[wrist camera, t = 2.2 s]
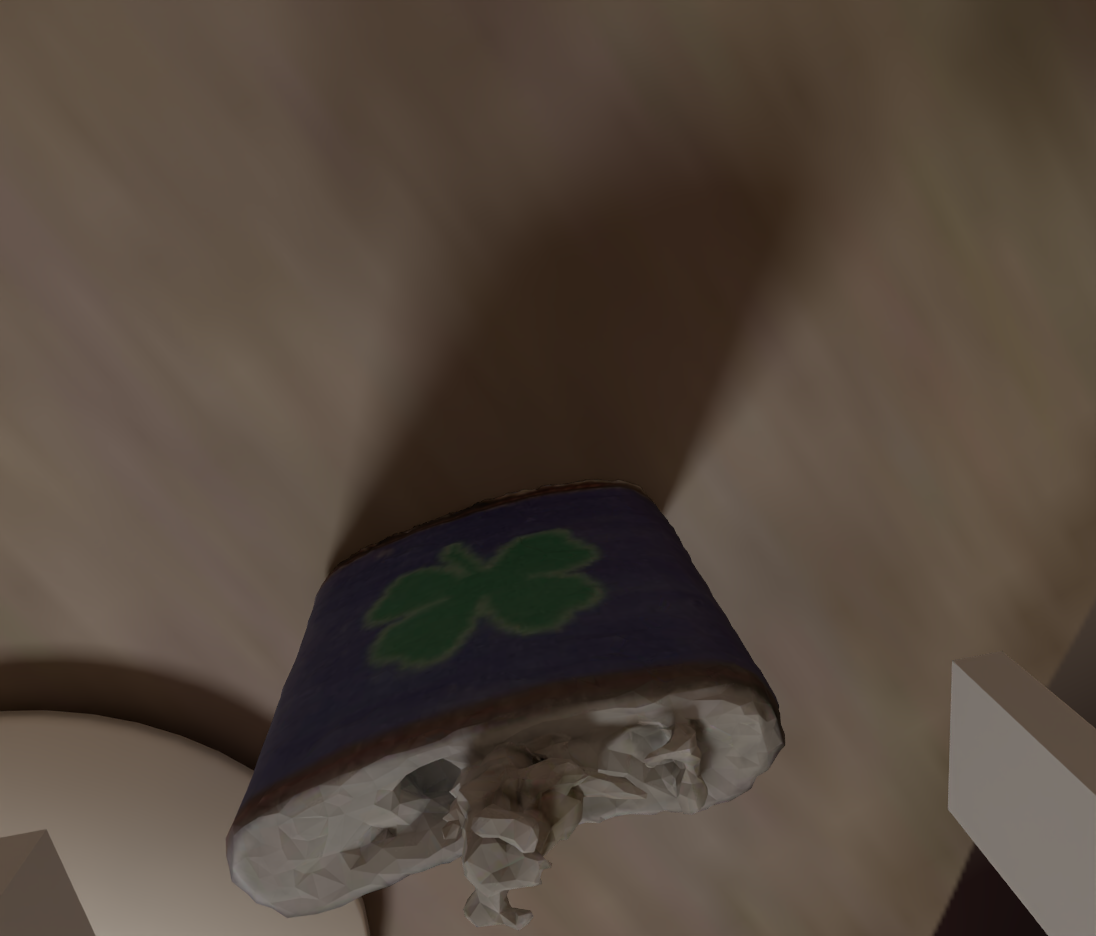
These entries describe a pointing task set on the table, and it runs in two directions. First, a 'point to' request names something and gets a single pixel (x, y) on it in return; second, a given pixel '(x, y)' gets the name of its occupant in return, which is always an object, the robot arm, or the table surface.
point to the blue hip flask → (498, 703)
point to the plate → (141, 826)
